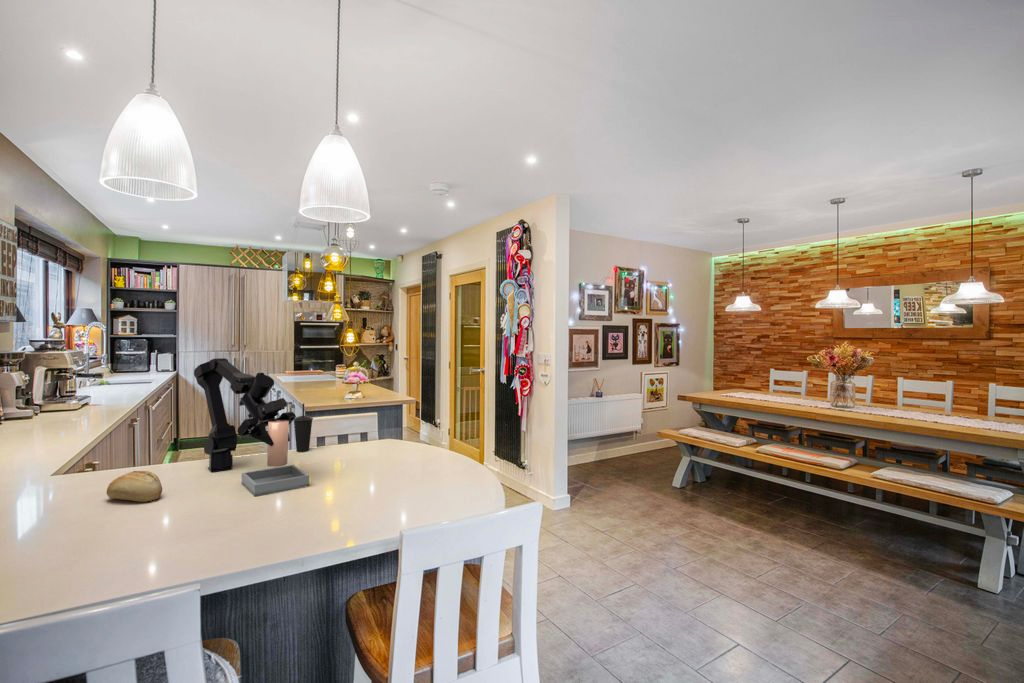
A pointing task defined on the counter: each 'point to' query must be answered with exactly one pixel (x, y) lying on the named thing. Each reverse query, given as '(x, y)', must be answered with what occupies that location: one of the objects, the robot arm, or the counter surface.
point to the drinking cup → (302, 432)
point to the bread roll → (135, 487)
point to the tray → (274, 480)
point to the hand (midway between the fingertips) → (280, 443)
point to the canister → (278, 443)
